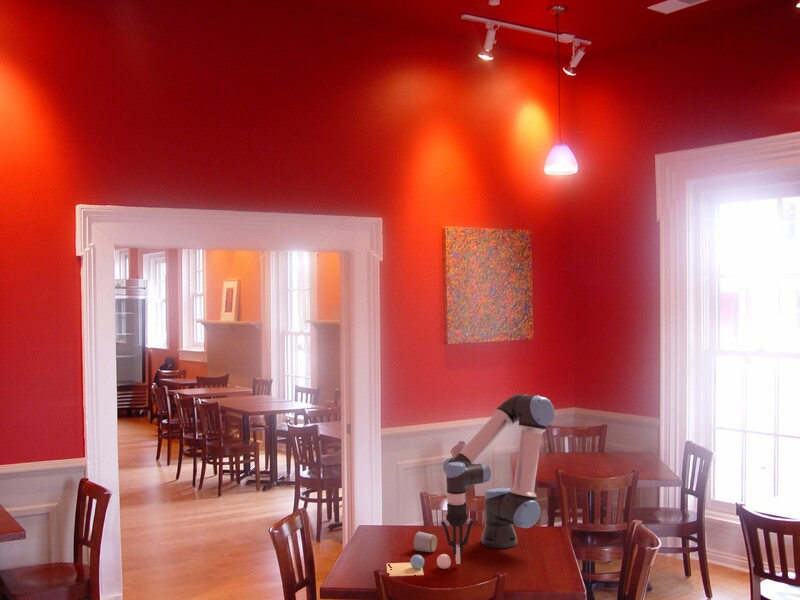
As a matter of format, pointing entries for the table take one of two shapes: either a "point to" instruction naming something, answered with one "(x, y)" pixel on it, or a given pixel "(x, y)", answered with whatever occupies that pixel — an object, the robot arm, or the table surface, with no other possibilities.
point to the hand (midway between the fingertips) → (458, 562)
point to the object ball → (417, 561)
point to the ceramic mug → (425, 542)
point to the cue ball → (443, 561)
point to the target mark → (403, 570)
